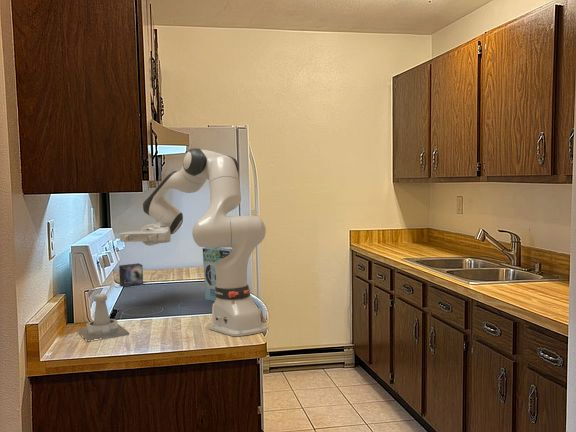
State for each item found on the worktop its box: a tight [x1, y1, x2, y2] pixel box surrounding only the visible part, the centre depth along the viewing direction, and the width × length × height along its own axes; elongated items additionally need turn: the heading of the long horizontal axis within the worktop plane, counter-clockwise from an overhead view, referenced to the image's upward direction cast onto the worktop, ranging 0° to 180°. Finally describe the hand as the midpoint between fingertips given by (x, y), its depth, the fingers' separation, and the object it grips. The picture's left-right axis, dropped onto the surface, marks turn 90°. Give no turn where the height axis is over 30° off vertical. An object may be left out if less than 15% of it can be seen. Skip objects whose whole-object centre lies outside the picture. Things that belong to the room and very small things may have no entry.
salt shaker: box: [93, 293, 111, 326], centre depth 194 cm, size 6×6×13 cm
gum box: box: [201, 247, 232, 302], centre depth 237 cm, size 20×5×23 cm, turn 43°
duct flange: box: [76, 318, 130, 341], centre depth 194 cm, size 16×14×4 cm
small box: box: [118, 263, 144, 288], centre depth 285 cm, size 11×6×10 cm, turn 123°
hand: (137, 238), depth 221 cm, fingers open, 8 cm apart
